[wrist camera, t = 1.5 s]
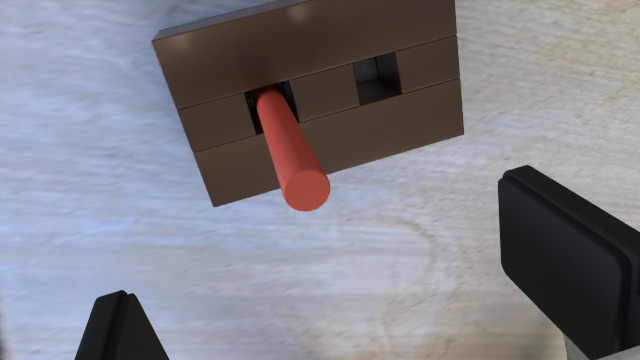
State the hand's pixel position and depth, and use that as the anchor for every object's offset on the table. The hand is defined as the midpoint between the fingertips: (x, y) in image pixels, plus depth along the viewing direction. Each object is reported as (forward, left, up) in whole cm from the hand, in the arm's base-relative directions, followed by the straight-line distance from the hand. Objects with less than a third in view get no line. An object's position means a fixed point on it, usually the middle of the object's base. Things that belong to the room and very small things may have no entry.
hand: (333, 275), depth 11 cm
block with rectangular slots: (0, +3, -18) cm, 19 cm away
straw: (0, 0, -18) cm, 18 cm away
